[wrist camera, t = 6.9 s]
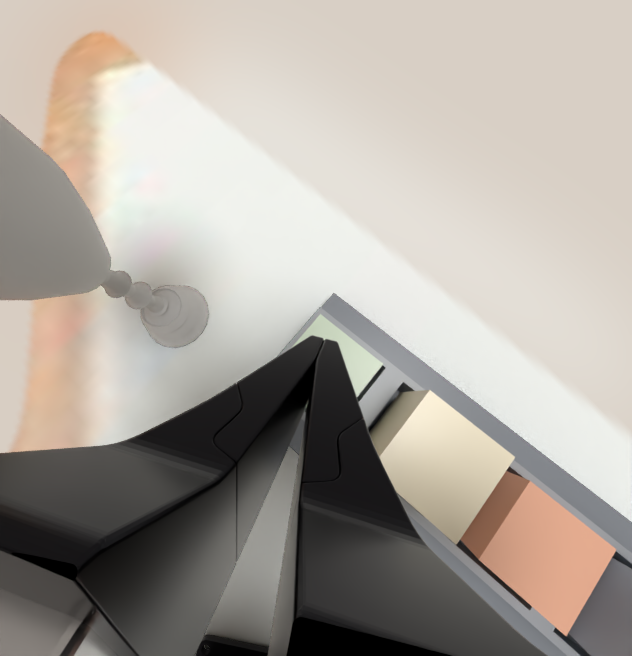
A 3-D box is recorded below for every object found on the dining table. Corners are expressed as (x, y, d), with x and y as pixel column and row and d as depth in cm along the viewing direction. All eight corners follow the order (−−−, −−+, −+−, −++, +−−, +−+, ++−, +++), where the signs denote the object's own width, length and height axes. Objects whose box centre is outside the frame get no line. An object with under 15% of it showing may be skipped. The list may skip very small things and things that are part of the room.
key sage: (285, 380, 20) (268, 374, 15) (323, 335, 21) (320, 313, 15) (331, 420, 19) (331, 429, 14) (369, 373, 20) (383, 363, 15)
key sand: (358, 446, 17) (370, 468, 12) (400, 392, 18) (429, 389, 12) (415, 497, 16) (456, 545, 11) (457, 438, 17) (515, 457, 12)
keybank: (246, 400, 22) (222, 401, 17) (333, 299, 23) (334, 273, 18) (559, 688, 17) (649, 802, 12) (643, 540, 19) (754, 590, 14)
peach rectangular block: (434, 511, 18) (478, 559, 13) (472, 456, 18) (530, 480, 13) (492, 562, 17) (565, 636, 12) (530, 503, 18) (616, 549, 12)
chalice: (126, 289, 24) (-400, 10, 7) (206, 261, 25) (-105, -79, 7) (145, 374, 23) (-489, 295, 5) (230, 343, 23) (-98, 166, 5)
